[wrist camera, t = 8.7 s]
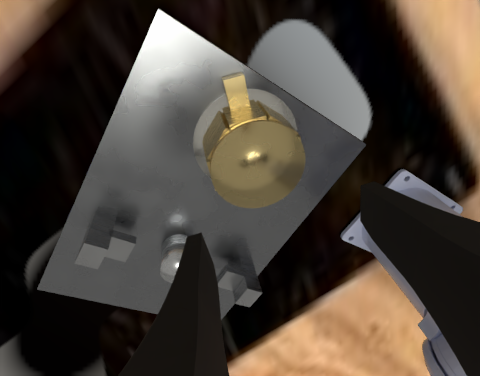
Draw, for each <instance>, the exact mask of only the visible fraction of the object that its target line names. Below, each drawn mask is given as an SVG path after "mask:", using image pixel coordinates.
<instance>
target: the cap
mask: <svg viewBox="0 0 480 376" xmlns="http://www.w3.org/2000/svg"><path fill="white" fill-rule="evenodd" d="M222 81H223V86H224V90H225V94H226V98H227V103H228V106H227V107H224V108H222V110H223V113H222V112H220V111H218V112H217V114H216V116H215V117H214V119H213V121H212V123H211V124H210V126H209V128H208V129H207V131H206V133H205V134H204V136H203V141H202V143H203V148H204V153H205V158H206V163H207V166H208V169H209V172H210V175H211V179H212V183H213V185H214V188H215V191H217V192H218V194H219V195H220V196H221V197H222V198H223V199H224V200H226V201H227V202H229V203H231V204H233V205H236V206H238V207H243V208H261V207H265V206H269V205H271V204H274V203H276V202H278V201H280V200H281V199H283V198H284V197H286V196H287V195H288V194H289V193H290V192H291V191H292V190H293V189H294V188H295V187H296V185H297V184H298V183H299V181H300V179H301V177H302V174H303V172H304V168H305V151H304V147H303V145H302V143H301V136H300V135H299V134H298V132H297V131H296V130H295V129H294V128H293V126H292V125H291V124H290V123H289V122H288V121H287V120H286V119H285V118H284V117H283V116H282V115H281V114H279V113H278V112H276V111H274V110H273V109H271V108H270V107H268V106H266V105H265V104H263V103H262V102H260V101H258V100H257V102H255V101H254V99H253V100H249V97H248V92H247V87H246V82H245V77H244V74H243V73H242V72H239V73H236V74H232V75H228V76H224V77H222Z"/></svg>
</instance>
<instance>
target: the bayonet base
mask: <svg viewBox="0 0 480 376" xmlns="http://www.w3.org/2000/svg"><path fill="white" fill-rule="evenodd" d="M239 72H242V73H243V74H244V77H245V82H246V87H247V92H248V97H249V100H253V99H254V101H255V102H257V100H258V101H260V102H262V103H263V104H265V105H266V106H268V107H270V108H271V109H273V110H274V111H276V112H278V113H279V114H281V115H282V116H283V117H284V118H285V119H286V120H287V121H288V122H289V123H290V124H291V125H292V126H293V128H294V129H295V130H296V131H297V132H298V134H299V135H300V136H301V143H302V145H303V147H304V151H305V168H304V172H303V174H302V177H301V179H300V181H299V183H298V184H297V185H296V187H295V188H294V189H293V190H292V191H291V192H290V193H289V194H288V195H287V196H286V197H284V198H283V199H281V200H280V201H278V202H276V203H274V204H271V205H269V206H265V207H261V208H243V207H238V206H236V205H233V204H231V203H229V202H227V201H226V200H224V199H223V198H222V197H221V196H220V195H219V194H218V192H217V191H215V188H214V185H213V183H212V179H211V175H210V172H209V169H208V166H207V163H206V158H205V153H204V148H203V143H202V141H203V136H204V134H205V133H206V131H207V129H208V128H209V126H210V124H211V123H212V121H213V119H214V117H215V116H216V114H217V112H218V111H220V112H222V113H223V110H222V108H224V107H227V106H228V103H227V98H226V94H225V90H224V86H223V81H222V77H224V76H228V75H232V74H236V73H239ZM365 146H366V144H365V143H363V142H362V141H361V140H360V139H358V138H356V137H355V136H353V135H352V134H350V133H349V132H347V131H346V130H344V129H342V128H341V127H340V126H338V125H337V124H335V123H333V122H332V121H330V120H329V119H327V118H326V117H324V116H323V115H321V114H320V113H318V112H317V111H315V110H314V109H312V108H311V107H309V106H308V105H306V104H305V103H303V102H302V101H300V100H298V99H297V98H295V97H294V96H292V95H291V94H289V93H288V92H286V91H285V90H283V89H282V88H280V87H279V86H277V85H276V84H274V83H272V82H271V81H269V80H268V79H266V78H265V77H263V76H262V75H260V74H258V73H257V72H256V71H254V70H253V69H251V68H250V67H248V66H247V65H245V64H243V63H242V62H240V61H239V60H237V59H236V58H234V57H233V56H231V55H230V54H228V53H227V52H225V51H224V50H222V49H221V48H219V47H217V46H216V45H214V44H213V43H211V42H210V41H208V40H207V39H205V38H204V37H202V36H201V35H199V34H198V33H196V32H195V31H193V30H192V29H190V28H188V27H187V26H185V25H184V24H182V23H181V22H179V21H178V20H176V19H175V18H173V17H172V16H170V15H169V14H167V13H166V12H164V11H162V10H161V9H158V10H157V13H156V15H155V17H154V20H153V22H152V24H151V27H150V29H149V31H148V34H147V36H146V38H145V41H144V43H143V45H142V47H141V50H140V52H139V54H138V57H137V59H136V61H135V64H134V66H133V68H132V71H131V73H130V75H129V78H128V80H127V82H126V85H125V87H124V89H123V91H122V94H121V96H120V98H119V101H118V103H117V105H116V108H115V110H114V112H113V115H112V117H111V119H110V122H109V124H108V126H107V129H106V131H105V133H104V136H103V138H102V140H101V142H100V145H99V147H98V149H97V152H96V154H95V156H94V159H93V161H92V163H91V166H90V168H89V170H88V173H87V175H86V177H85V180H84V182H83V184H82V186H81V189H80V191H79V193H78V196H77V198H76V200H75V203H74V205H73V207H72V210H71V212H70V214H69V217H68V219H67V221H66V224H65V226H64V228H63V231H62V233H61V235H60V237H59V240H58V242H57V245H56V247H55V249H54V251H53V254H52V256H51V258H50V261H49V263H48V265H47V268H46V270H45V272H44V275H43V277H42V279H41V282H40V284H39V286H38V288H37V290H42V291H47V292H52V293H57V294H62V295H67V296H72V297H77V298H81V299H87V300H91V301H96V302H101V303H106V304H111V305H115V306H120V307H125V308H130V309H135V310H140V311H145V312H150V313H154V314H158V313H159V311H160V309H161V307H162V305H163V303H164V301H165V299H166V296H167V294H168V292H169V289H170V287H171V284H172V282H173V280H174V277H175V274H176V271H177V268H178V266H179V263H180V259H181V256H182V253H183V249H184V245H185V241H186V238H187V237H188V236H191V235H194V234H198V233H201V232H202V235H203V238H204V240H205V243H206V245H207V248H208V250H209V253H210V256H211V258H212V261H213V263H214V267H215V272H216V277H217V282H218V289H219V300H220V312H221V319H222V318H223V317H224V316H225V315H226V313H227V312H228V311H229V310H230V309H231V307H232V306H233V305H234V304H239V305H243V306H247V307H250V306H251V305H252V304H253V303H254V302H255V301H256V299H257V298H258V297H259V296H260V295H261V294H262V290H261V287H260V283H259V280H258V277H257V276H258V275H259V274H260V272H261V271H262V270H263V269H264V267H265V266H266V265H267V264H268V263H269V261H270V260H271V259H272V258H273V257H274V255H275V254H276V253H277V252H278V251H279V249H280V248H281V247H282V246H283V245H284V243H285V242H286V241H287V240H288V239H289V237H290V236H291V235H292V234H293V233H294V231H295V230H296V229H297V228H298V226H299V225H300V224H301V223H302V222H303V220H304V219H305V218H306V217H307V216H308V214H309V213H310V212H311V211H312V210H313V208H314V207H315V206H316V205H317V204H318V202H319V201H320V200H321V199H322V198H323V196H324V195H325V194H326V193H327V191H328V190H329V189H330V188H331V187H332V185H333V184H334V183H335V182H336V181H337V179H338V178H339V177H340V176H341V175H342V173H343V172H344V171H345V170H346V169H347V167H348V166H349V165H350V164H351V163H352V161H353V160H354V159H355V158H356V157H357V155H358V154H359V153H360V152H361V150H362V149H363V148H364V147H365Z"/></svg>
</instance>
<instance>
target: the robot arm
mask: <svg viewBox="0 0 480 376" xmlns="http://www.w3.org/2000/svg"><path fill="white" fill-rule="evenodd" d="M405 177H406V178H405ZM462 211H463V207H461V206H460V205H459V204H457V203H456V202H454V201H453V200H451V199H449V198H448V197H446V196H445V195H443V194H442V193H440V192H439V191H437V190H436V189H434V188H433V187H431V186H430V185H428V184H427V183H425V182H423V181H422V180H420V179H419V178H417V177H416V176H414V175H413V174H411V173H410V172H408V171H407V170H405V169H401V170H399V171H398V172H397V173H396V174H395V175H394V176H393V177H392V178H391V179H390V180H389V182H388V183H387V184H386V185H385V186H383V185H381V184H379V183H376V182H371V183H368V184H364V185H361V207H360V213H359V214H358V215H357V217H356V218H355V219H354V220H353V221H352V222H351V223H350V224H349V225H348V226H347V228H346V229H345V230H344V231H343V232H342V233H341V238H342V240H344V241H346V242H348V243H351V244H353V245H355V246H358V247H360V248H362V249H365V250H367V251H369V252H372V253H373V254H374V256H375V257H376V258H377V259H378V261H379V262H380V263H381V265H382V266H383V267H384V268H385V270H386V271H387V272H388V273H389V275H390V276H391V277H392V279H393V280H394V281H395V282H396V284H397V285H398V286H399V288H400V289H401V290H402V291H403V293H404V294H405V295H406V297H407V298H408V299H409V300H410V302H411V303H412V304H413V306H414V307H415V308H416V309H417V311H418V312H419V313H420V315H421V316H422V317H423V318H424V319H423V320H422V321H421V322H420V323H419V324H418V326H419V327H420V329H421V330H422V331H423V333H424V334H425V335H426V337H427V339H426V340H424V342H423V345H422V349H423V354H424V358H425V363H426V366H427V369H428V371H429V373H430V375H431V376H480V222H477V221H474V220H471V219H467V218H464V217H462V216H461V215H460V213H461V212H462ZM349 237H350V238H349ZM118 376H229V373H228V367H227V362H226V356H225V350H224V344H223V336H222V325H221V312H220V300H219V289H218V282H217V277H216V272H215V267H214V263H213V261H212V258H211V256H210V253H209V250H208V248H207V245H206V243H205V240H204V238H203V235H202V232H201V233H198V234H194V235H191V236H188V237H187V238H186V241H185V245H184V249H183V253H182V256H181V259H180V263H179V266H178V268H177V271H176V274H175V277H174V280H173V282H172V284H171V287H170V289H169V292H168V294H167V296H166V299H165V301H164V303H163V305H162V307H161V309H160V311H159V313H158V315H157V317H156V319H155V320H154V322H153V324H152V326H151V327H150V329H149V331H148V333H147V334H146V336H145V337H144V339H143V341H142V342H141V344H140V345H139V347H138V348H137V350H136V351H135V353H134V354H133V356H132V357H131V359H130V360H129V361H128V363H127V364H126V366H125V367H124V369H123V370H122V371H121V373H120V374H119V375H118Z"/></svg>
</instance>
